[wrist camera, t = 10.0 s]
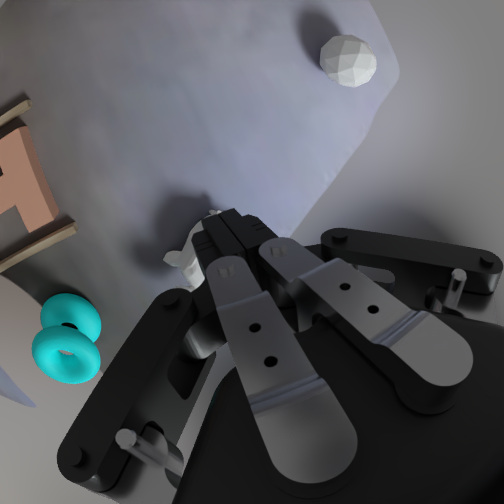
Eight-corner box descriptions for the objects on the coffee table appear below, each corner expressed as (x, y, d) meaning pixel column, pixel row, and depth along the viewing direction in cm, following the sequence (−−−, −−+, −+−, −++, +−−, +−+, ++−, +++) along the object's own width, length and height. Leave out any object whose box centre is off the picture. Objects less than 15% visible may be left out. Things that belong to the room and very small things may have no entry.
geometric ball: (332, 63, 36) (381, 78, 33) (310, 87, 34) (365, 104, 31) (330, 23, 29) (385, 36, 26) (306, 41, 27) (369, 56, 25)
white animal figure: (192, 204, 40) (141, 299, 37) (221, 204, 33) (159, 321, 31) (235, 233, 45) (190, 320, 42) (270, 239, 38) (217, 343, 35)
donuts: (68, 395, 31) (16, 355, 25) (71, 347, 39) (31, 308, 33) (115, 371, 32) (62, 325, 26) (113, 322, 40) (73, 277, 34)
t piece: (-37, 170, 21) (-47, 176, 18) (27, 125, 23) (18, 127, 21) (-4, 246, 27) (-11, 256, 25) (59, 211, 30) (53, 219, 27)
